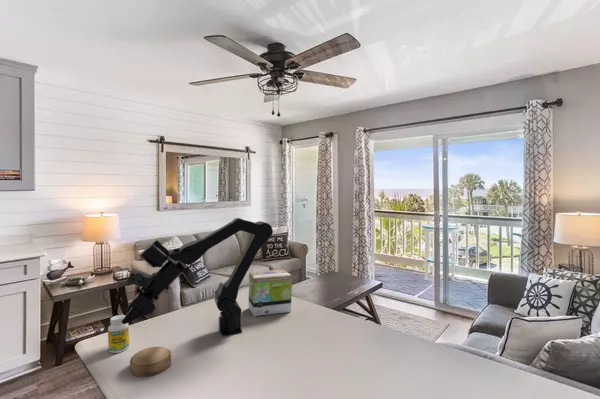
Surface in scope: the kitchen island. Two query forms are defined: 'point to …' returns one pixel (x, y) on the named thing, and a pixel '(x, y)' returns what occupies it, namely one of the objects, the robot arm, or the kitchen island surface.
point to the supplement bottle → (118, 334)
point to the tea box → (269, 292)
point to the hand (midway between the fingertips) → (124, 317)
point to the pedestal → (150, 361)
